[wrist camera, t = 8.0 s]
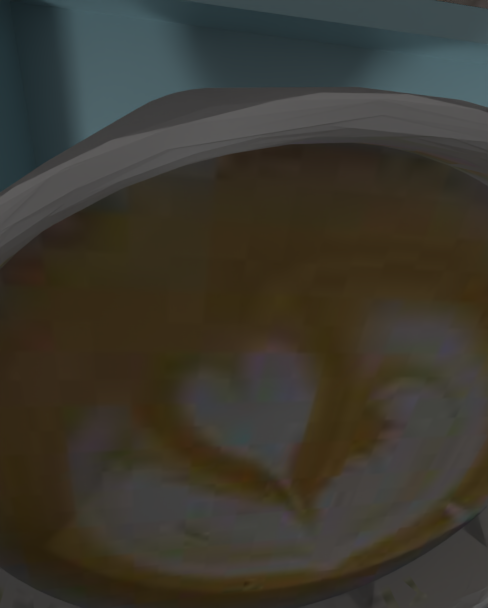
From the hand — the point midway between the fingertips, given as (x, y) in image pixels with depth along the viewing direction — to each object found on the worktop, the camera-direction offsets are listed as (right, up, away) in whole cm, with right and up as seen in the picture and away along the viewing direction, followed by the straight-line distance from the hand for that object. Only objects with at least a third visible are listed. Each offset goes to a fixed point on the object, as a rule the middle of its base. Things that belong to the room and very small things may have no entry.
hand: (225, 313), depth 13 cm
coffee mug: (-1, +1, +1) cm, 2 cm away
